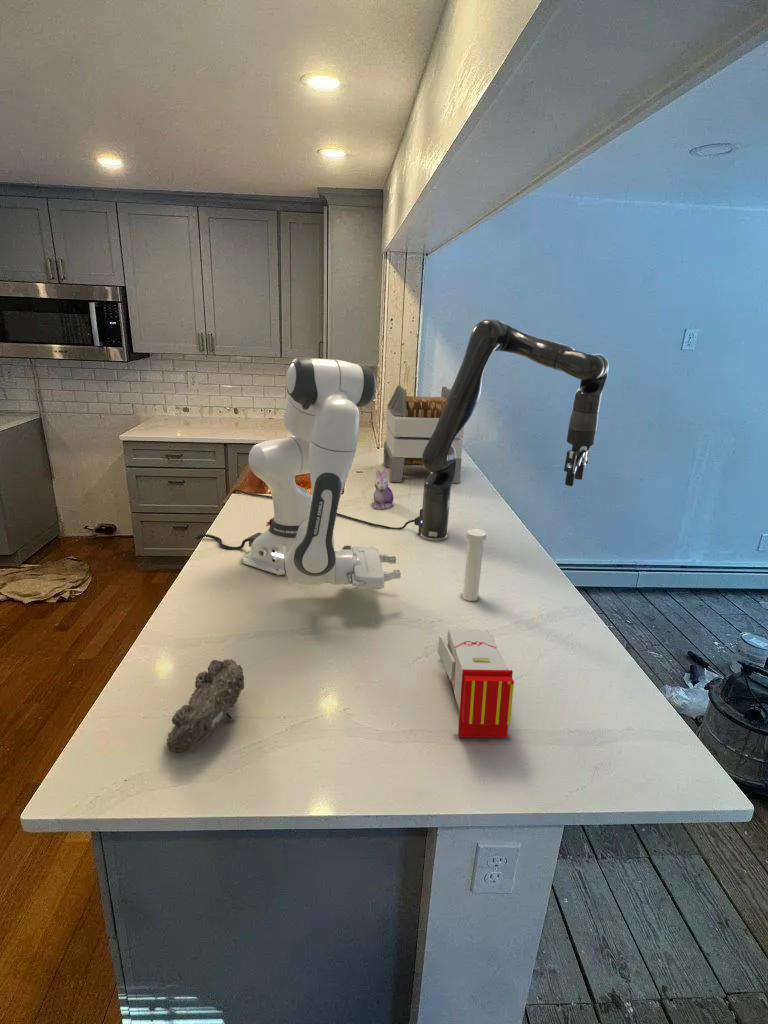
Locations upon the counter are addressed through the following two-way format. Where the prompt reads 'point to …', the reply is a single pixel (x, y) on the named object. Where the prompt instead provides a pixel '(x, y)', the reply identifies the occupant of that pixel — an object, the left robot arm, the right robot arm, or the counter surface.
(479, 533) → the lid
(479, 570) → the slender white bottle
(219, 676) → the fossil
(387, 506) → the figurine
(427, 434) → the grey boxy piece
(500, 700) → the toy
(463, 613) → the counter surface
